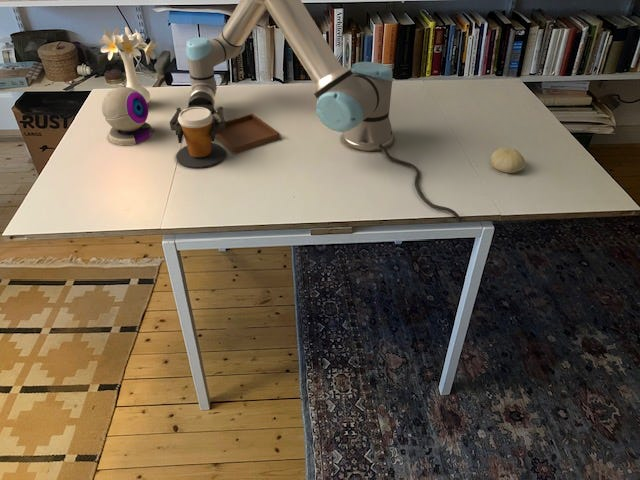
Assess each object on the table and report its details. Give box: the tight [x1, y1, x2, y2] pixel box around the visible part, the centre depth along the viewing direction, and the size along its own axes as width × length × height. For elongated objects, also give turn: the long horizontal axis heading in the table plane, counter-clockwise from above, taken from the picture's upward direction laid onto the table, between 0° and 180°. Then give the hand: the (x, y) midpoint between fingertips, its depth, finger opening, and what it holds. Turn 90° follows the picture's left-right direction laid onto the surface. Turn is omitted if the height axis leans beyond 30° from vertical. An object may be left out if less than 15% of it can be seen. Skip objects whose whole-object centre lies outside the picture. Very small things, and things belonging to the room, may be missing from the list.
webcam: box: [101, 86, 154, 146], centre depth 163 cm, size 13×13×15 cm
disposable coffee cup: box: [178, 107, 214, 157], centre depth 153 cm, size 10×10×12 cm
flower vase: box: [98, 26, 159, 104], centre depth 175 cm, size 13×18×25 cm
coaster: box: [175, 142, 226, 169], centre depth 158 cm, size 14×14×1 cm
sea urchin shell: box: [490, 147, 526, 174], centre depth 153 cm, size 9×8×8 cm
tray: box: [215, 113, 281, 154], centre depth 167 cm, size 17×16×2 cm
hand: (195, 138), depth 149 cm, fingers closed on disposable coffee cup, 8 cm apart
